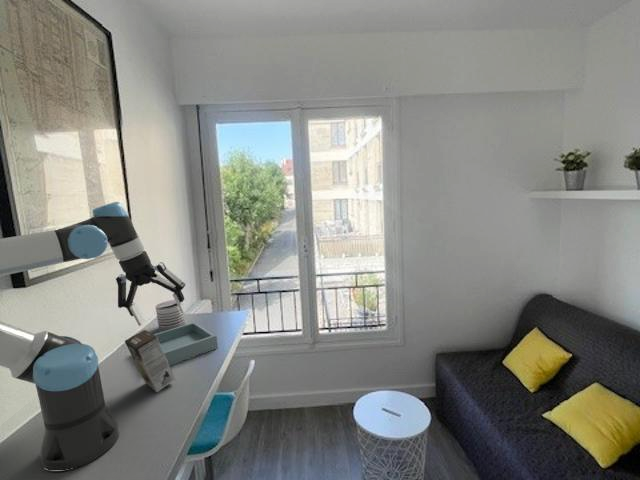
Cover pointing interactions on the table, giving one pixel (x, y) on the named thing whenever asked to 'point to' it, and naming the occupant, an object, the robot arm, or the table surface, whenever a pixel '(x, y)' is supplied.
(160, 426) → the table surface
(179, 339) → the bin
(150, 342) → the coffee box
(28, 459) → the table surface
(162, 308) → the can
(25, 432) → the table surface
